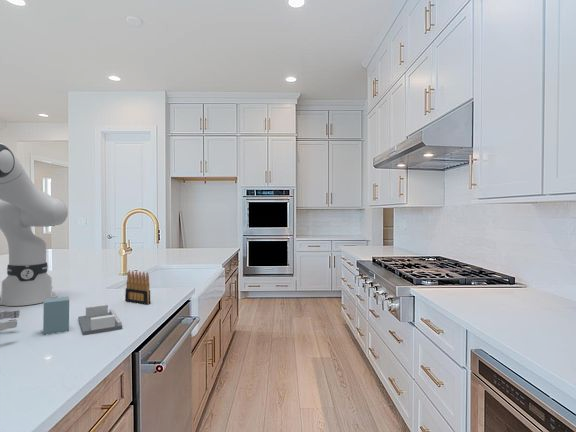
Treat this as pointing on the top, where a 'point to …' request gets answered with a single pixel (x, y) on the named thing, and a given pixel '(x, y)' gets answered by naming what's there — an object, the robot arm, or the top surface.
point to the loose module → (56, 315)
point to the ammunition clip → (137, 288)
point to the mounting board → (87, 325)
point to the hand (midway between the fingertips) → (18, 318)
